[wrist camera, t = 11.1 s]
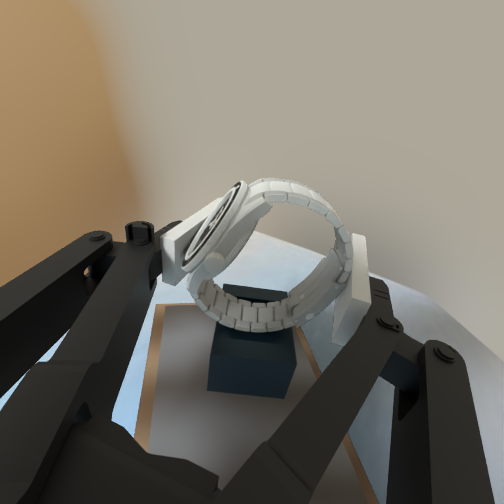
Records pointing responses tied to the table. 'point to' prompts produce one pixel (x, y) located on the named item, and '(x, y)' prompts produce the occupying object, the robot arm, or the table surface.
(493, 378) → the table surface
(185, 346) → the riser
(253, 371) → the watch
